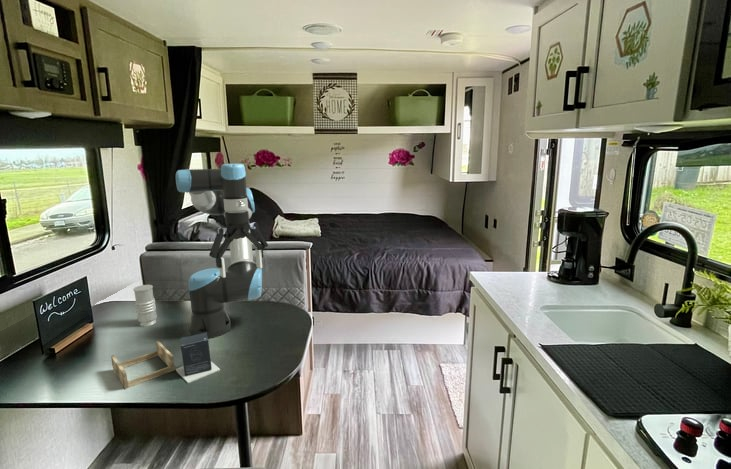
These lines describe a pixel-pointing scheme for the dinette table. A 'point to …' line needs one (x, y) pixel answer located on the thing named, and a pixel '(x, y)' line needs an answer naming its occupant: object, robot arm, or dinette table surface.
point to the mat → (198, 375)
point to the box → (195, 354)
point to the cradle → (160, 352)
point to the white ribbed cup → (145, 305)
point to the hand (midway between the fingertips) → (241, 271)
